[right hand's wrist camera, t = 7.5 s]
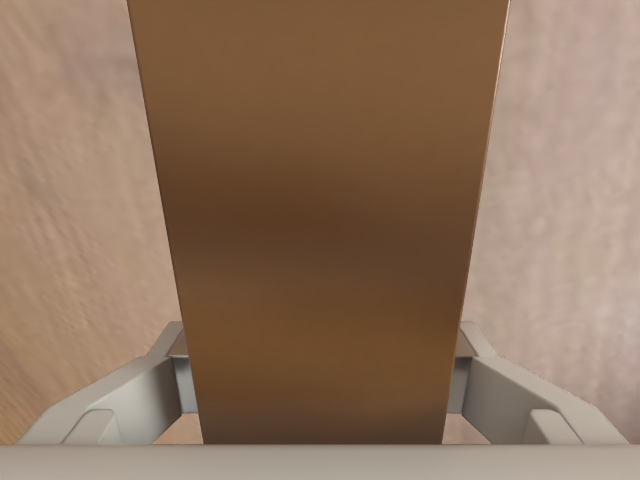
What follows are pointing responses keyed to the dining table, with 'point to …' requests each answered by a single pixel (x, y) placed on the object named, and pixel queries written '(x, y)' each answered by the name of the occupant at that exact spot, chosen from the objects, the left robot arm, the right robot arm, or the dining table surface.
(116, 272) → the dining table surface
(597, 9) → the dining table surface
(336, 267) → the post
